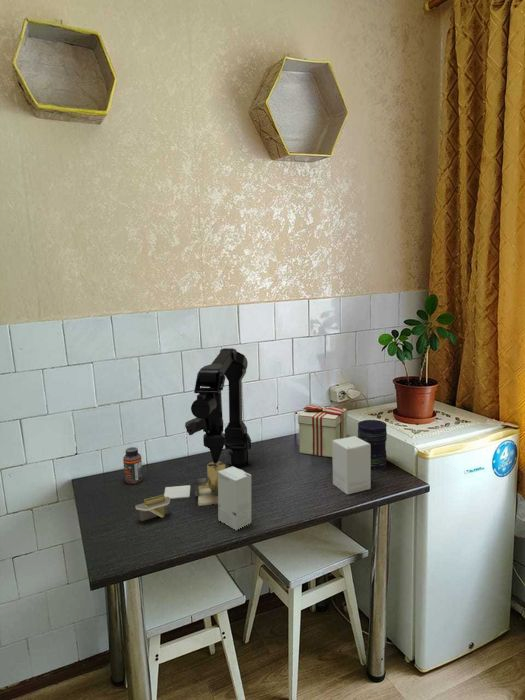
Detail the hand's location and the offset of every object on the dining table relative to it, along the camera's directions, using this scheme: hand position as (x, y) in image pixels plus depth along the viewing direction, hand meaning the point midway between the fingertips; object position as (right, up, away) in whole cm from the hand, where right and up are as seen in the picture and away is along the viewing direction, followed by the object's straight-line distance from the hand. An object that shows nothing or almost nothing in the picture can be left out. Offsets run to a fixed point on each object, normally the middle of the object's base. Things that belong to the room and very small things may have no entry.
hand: (215, 457), depth 154 cm
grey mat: (-13, -12, +5) cm, 18 cm away
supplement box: (+43, -11, +5) cm, 44 cm away
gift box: (+38, -5, +38) cm, 54 cm away
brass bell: (+1, -9, +2) cm, 9 cm away
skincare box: (+7, -15, -15) cm, 22 cm away
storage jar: (+53, -7, +21) cm, 57 cm away
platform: (-16, -16, -11) cm, 25 cm away
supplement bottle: (-29, -11, +15) cm, 34 cm away
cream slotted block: (+1, -12, +2) cm, 12 cm away
